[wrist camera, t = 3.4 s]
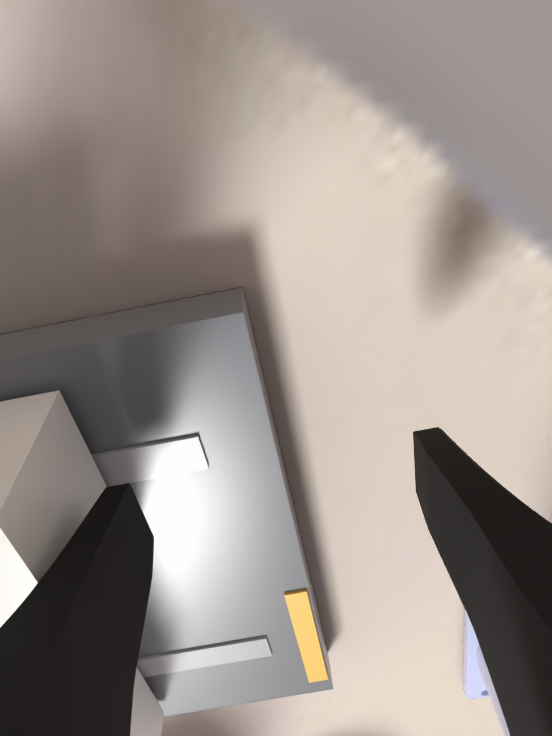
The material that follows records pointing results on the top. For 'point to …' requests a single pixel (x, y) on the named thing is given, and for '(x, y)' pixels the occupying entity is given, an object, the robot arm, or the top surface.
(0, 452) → the switch front
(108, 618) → the robot arm
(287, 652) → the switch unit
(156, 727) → the switch back
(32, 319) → the top surface
